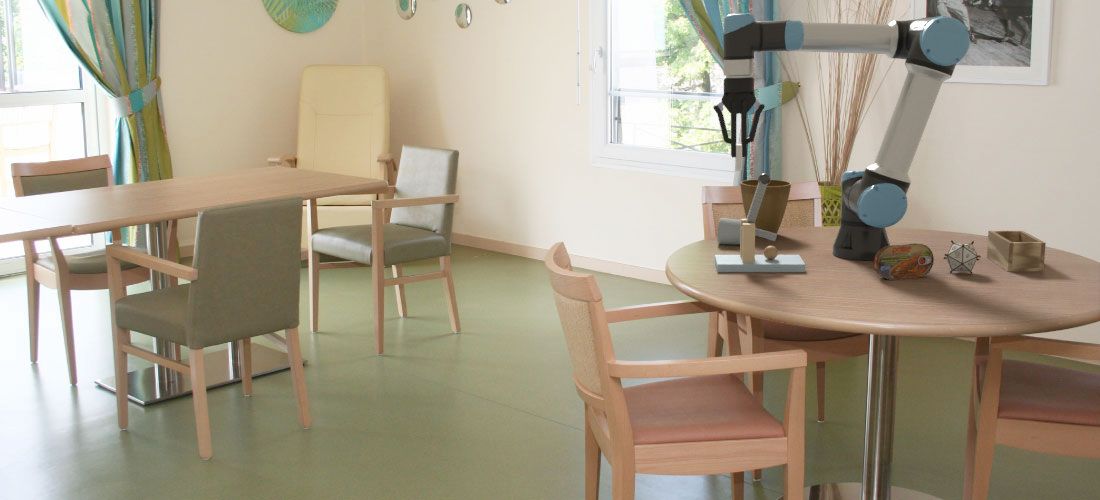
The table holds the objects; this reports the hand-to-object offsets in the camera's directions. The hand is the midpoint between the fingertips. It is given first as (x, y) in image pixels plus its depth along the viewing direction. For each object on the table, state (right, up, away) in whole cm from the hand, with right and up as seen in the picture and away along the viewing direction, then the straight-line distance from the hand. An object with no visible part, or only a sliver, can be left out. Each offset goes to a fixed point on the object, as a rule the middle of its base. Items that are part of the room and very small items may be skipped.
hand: (738, 170), depth 263 cm
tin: (+38, -28, -10) cm, 48 cm away
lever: (+5, -17, +3) cm, 18 cm away
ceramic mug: (+5, -19, +36) cm, 41 cm away
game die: (+54, -26, -7) cm, 61 cm away
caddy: (+71, -24, +1) cm, 75 cm away
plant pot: (+16, -16, +47) cm, 53 cm away
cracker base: (+6, -25, +4) cm, 26 cm away
